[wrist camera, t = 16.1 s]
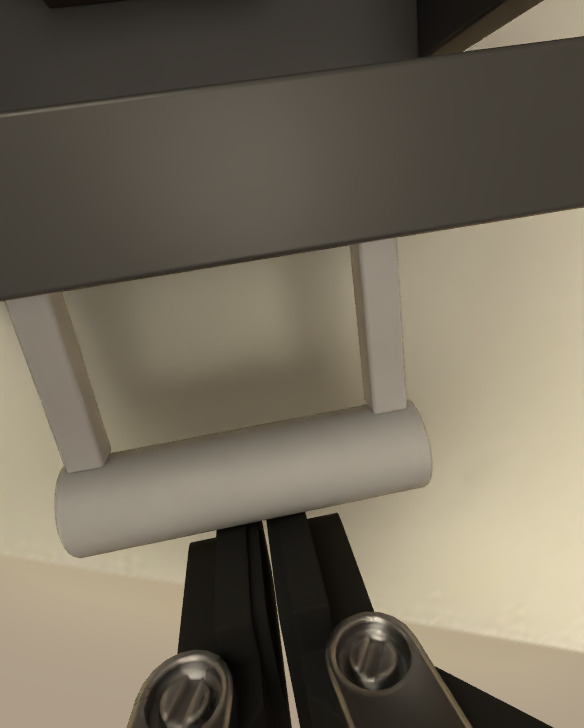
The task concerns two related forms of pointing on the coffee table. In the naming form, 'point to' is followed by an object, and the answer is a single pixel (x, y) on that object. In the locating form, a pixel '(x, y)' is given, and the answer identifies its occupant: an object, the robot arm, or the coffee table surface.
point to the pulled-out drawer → (257, 211)
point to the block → (70, 2)
